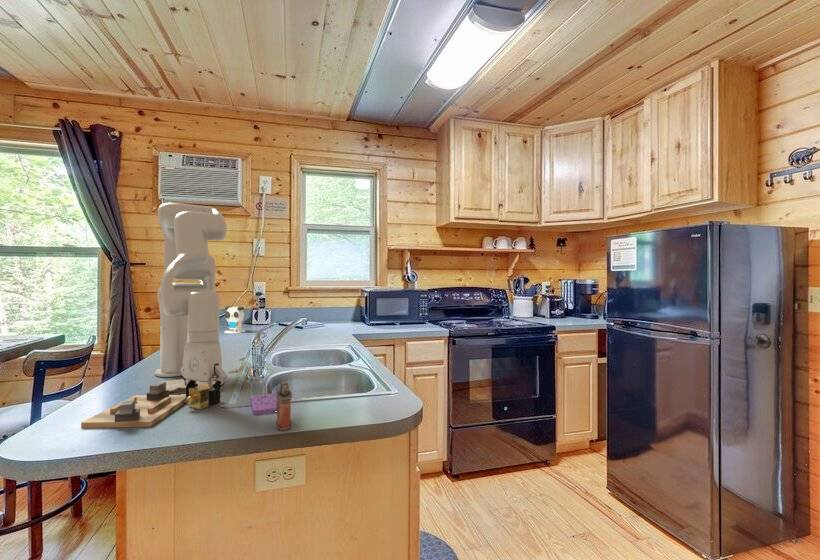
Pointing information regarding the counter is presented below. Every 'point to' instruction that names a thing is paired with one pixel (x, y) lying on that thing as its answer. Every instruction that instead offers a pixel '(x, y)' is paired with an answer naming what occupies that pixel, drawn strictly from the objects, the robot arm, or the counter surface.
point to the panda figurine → (234, 319)
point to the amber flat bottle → (283, 408)
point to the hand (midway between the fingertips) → (202, 401)
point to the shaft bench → (143, 412)
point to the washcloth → (180, 386)
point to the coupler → (198, 397)
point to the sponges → (264, 403)
